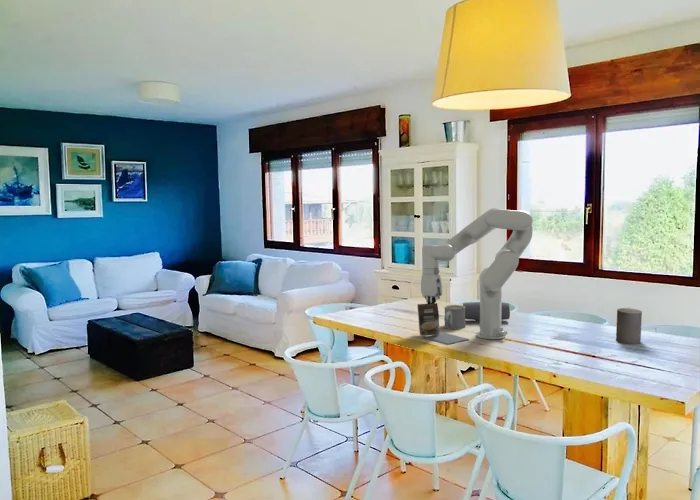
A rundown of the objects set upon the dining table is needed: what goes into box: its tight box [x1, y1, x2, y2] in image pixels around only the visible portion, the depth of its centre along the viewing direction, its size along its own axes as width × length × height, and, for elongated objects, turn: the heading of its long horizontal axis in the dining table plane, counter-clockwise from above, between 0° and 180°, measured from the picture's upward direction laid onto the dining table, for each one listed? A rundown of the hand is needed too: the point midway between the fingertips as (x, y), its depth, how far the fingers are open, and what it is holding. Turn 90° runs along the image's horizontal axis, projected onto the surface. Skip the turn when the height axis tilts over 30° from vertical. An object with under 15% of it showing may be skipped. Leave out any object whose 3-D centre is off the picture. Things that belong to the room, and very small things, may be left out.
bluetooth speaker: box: [462, 301, 511, 323], centre depth 285 cm, size 23×9×10 cm, turn 84°
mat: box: [424, 332, 470, 346], centre depth 250 cm, size 15×13×1 cm
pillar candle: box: [615, 307, 643, 345], centre depth 240 cm, size 10×10×15 cm
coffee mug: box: [443, 304, 466, 330], centre depth 272 cm, size 13×10×10 cm
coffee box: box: [417, 302, 440, 337], centre depth 252 cm, size 9×6×16 cm
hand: (431, 310), depth 257 cm, fingers closed
